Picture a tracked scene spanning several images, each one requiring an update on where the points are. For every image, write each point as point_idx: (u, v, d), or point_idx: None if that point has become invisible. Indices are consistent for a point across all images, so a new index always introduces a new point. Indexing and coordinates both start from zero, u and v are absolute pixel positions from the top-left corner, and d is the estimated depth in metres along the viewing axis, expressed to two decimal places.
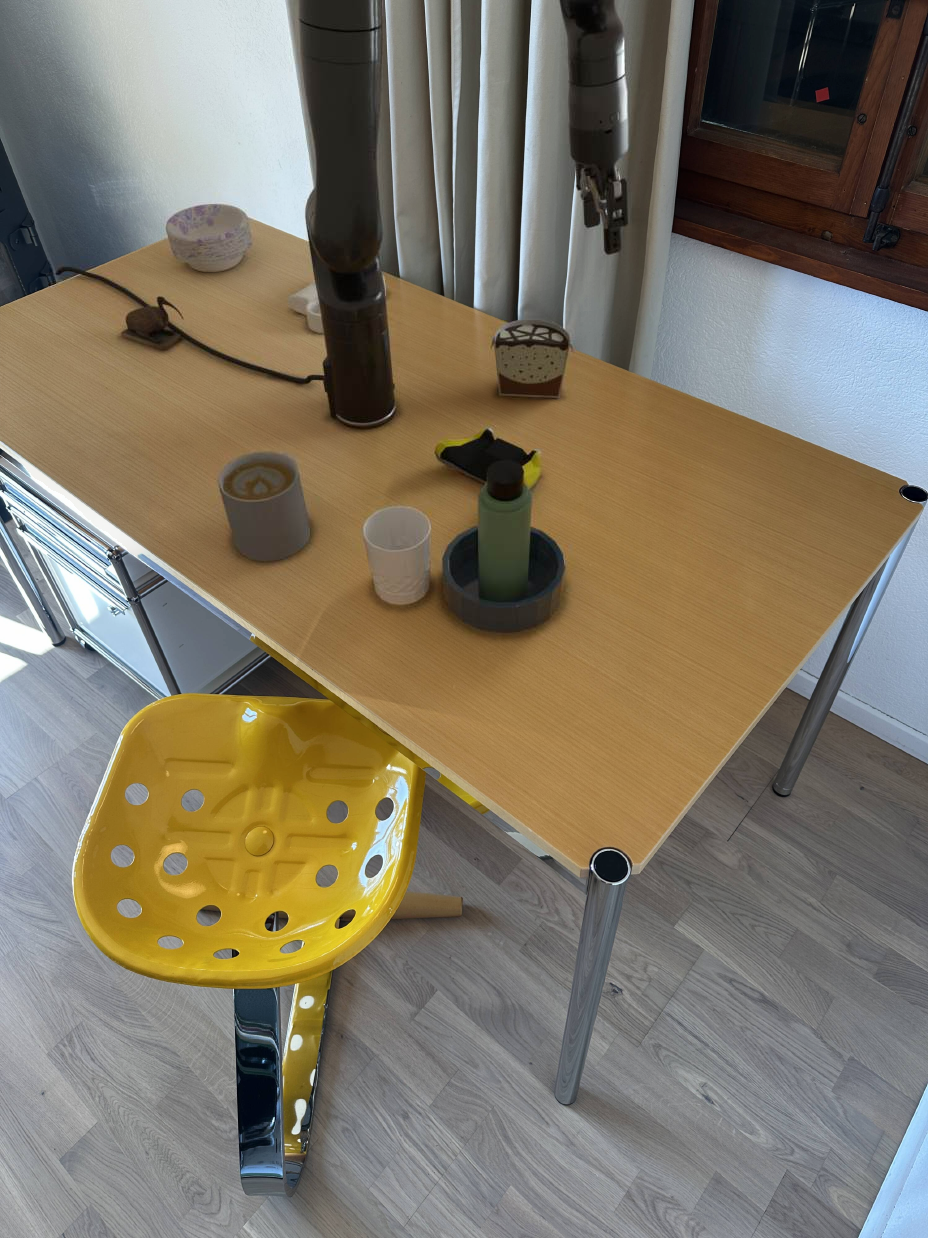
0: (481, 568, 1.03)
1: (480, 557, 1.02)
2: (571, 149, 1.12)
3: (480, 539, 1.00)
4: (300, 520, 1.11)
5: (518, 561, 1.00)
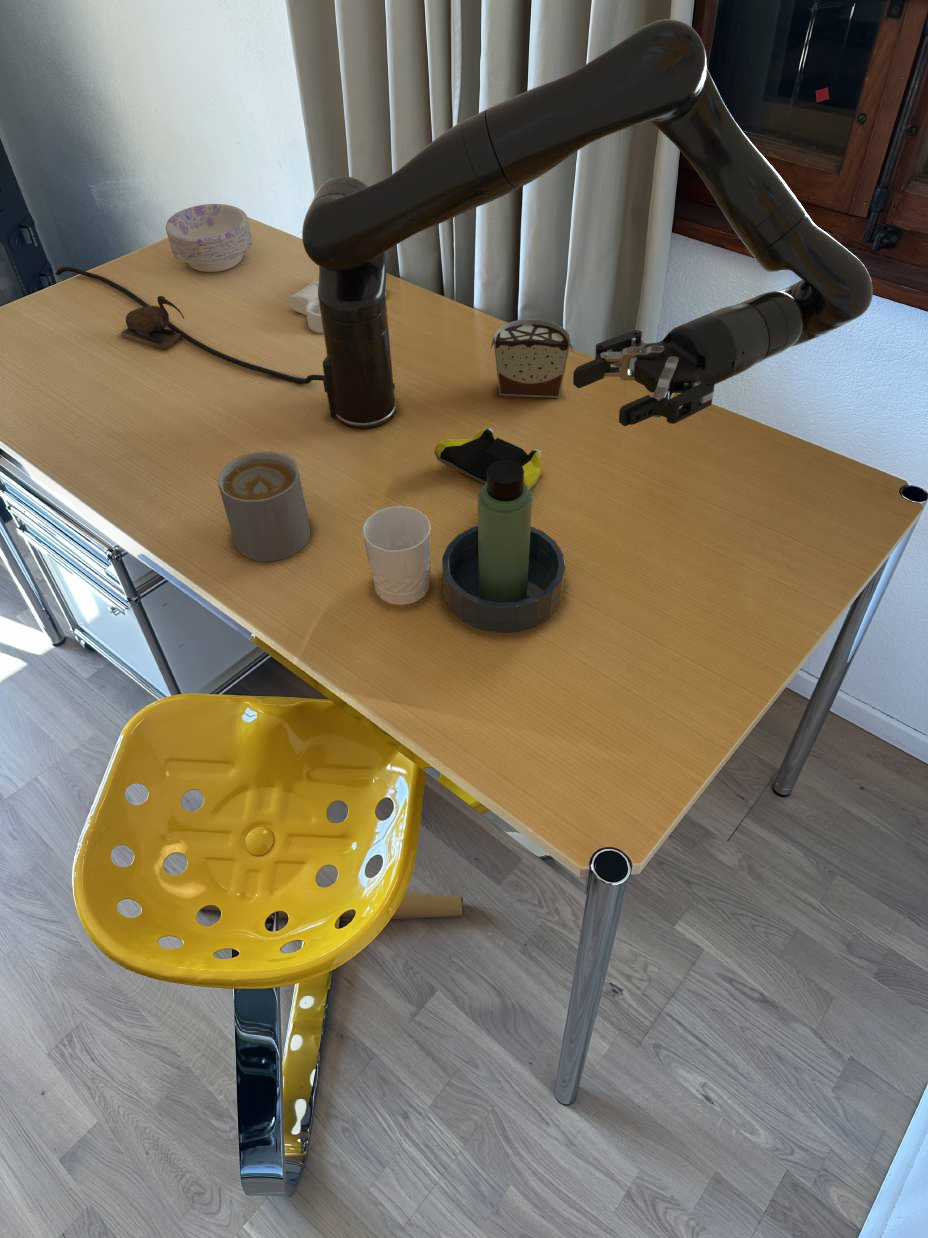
0: (481, 568, 1.03)
1: (480, 557, 1.02)
2: (697, 327, 0.94)
3: (480, 539, 1.00)
4: (300, 520, 1.11)
5: (518, 561, 1.00)
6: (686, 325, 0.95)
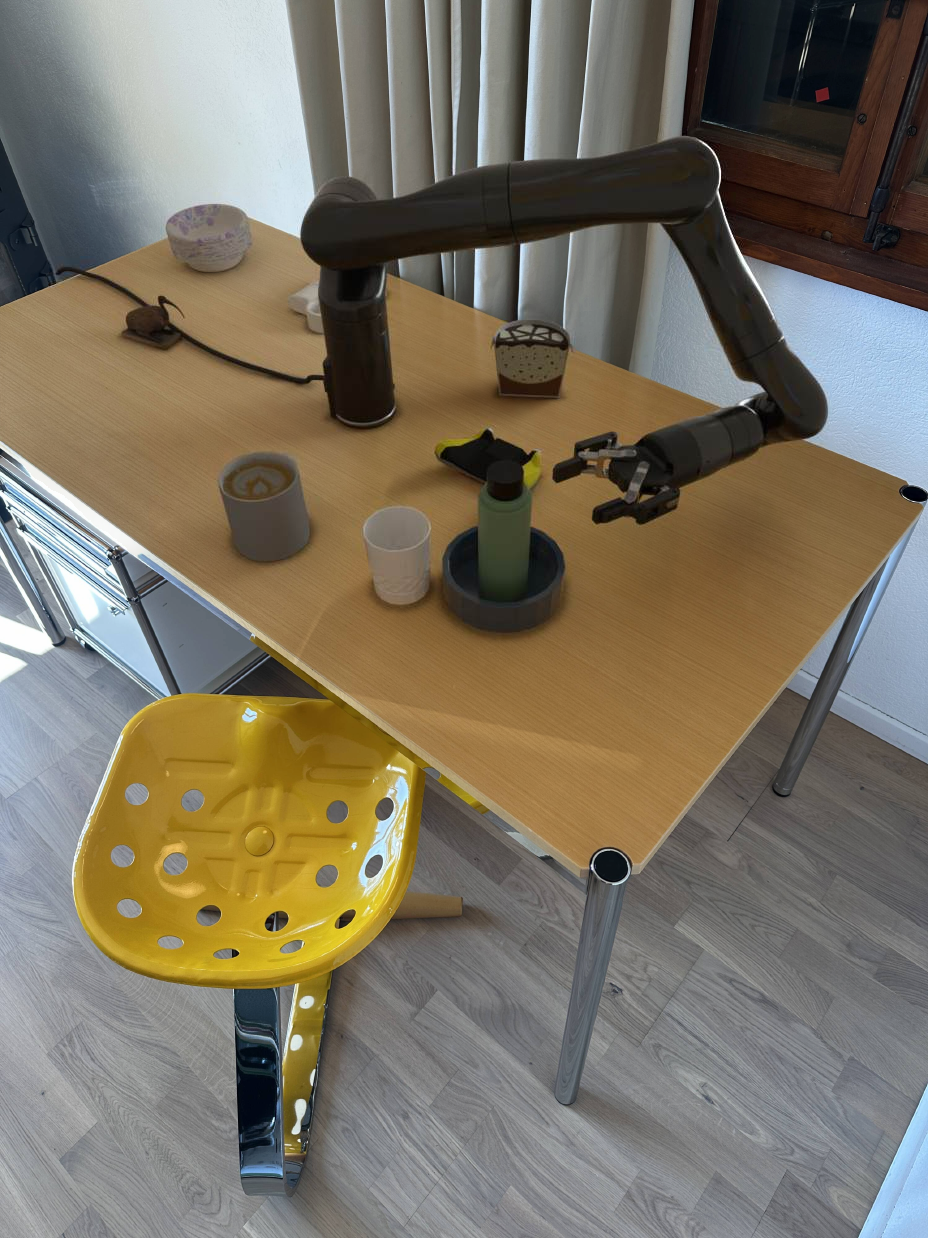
0: (481, 568, 1.03)
1: (480, 557, 1.02)
2: (667, 436, 1.03)
3: (480, 539, 1.00)
4: (300, 520, 1.11)
5: (518, 561, 1.00)
6: (658, 433, 1.04)
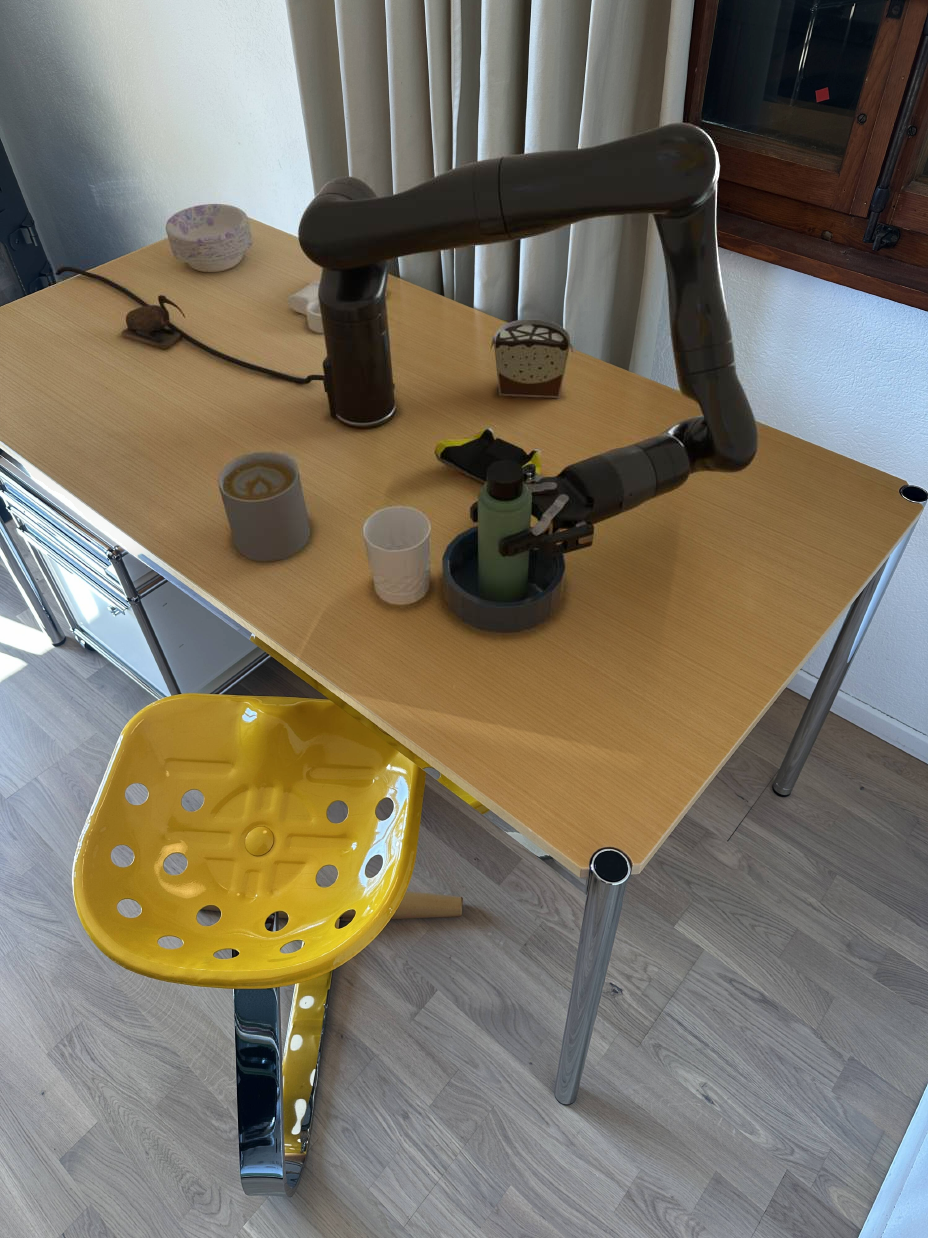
0: (481, 568, 1.03)
1: (480, 557, 1.02)
2: (588, 468, 1.00)
3: (480, 539, 1.00)
4: (300, 520, 1.11)
5: (518, 561, 1.00)
6: (578, 465, 1.01)
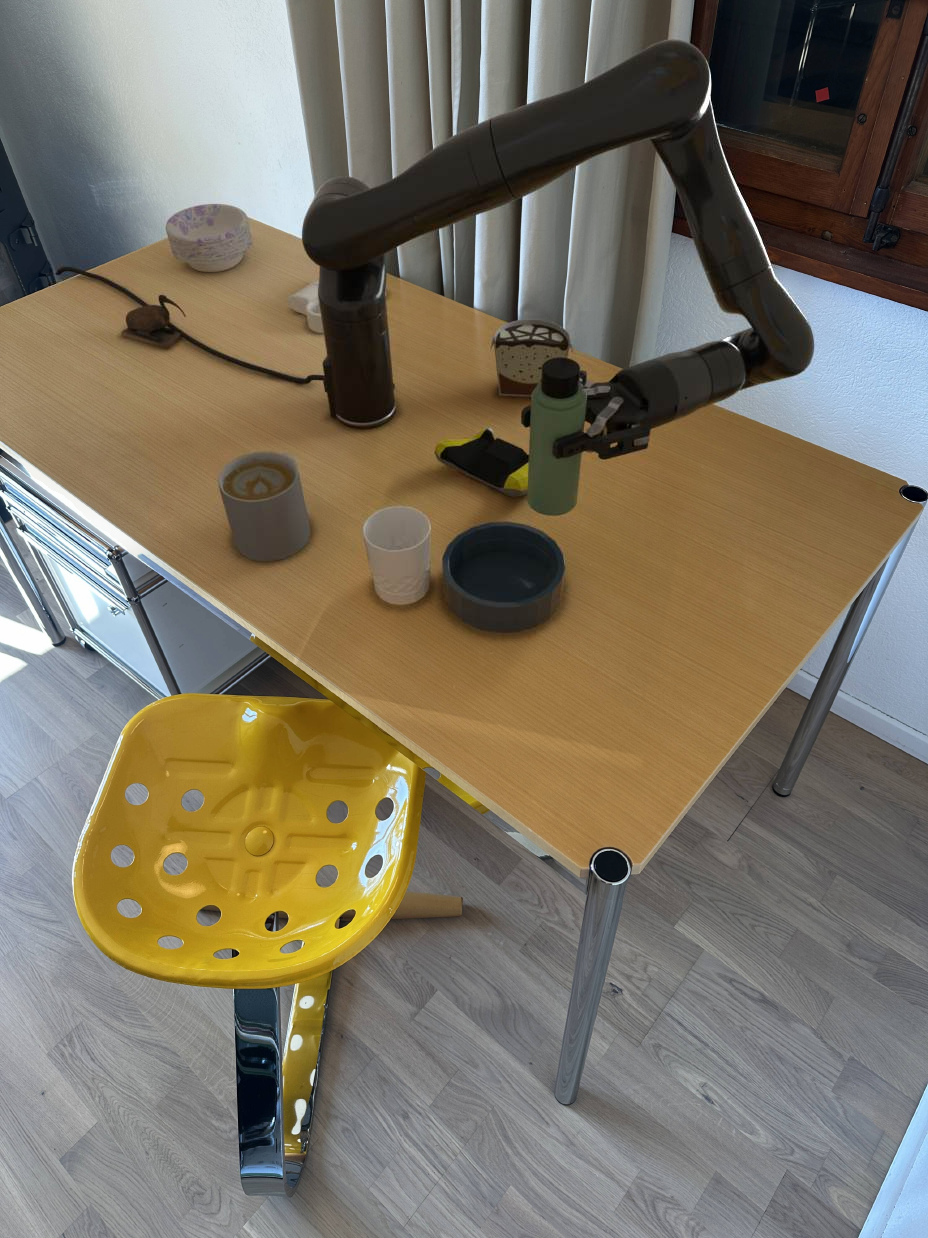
0: (531, 476, 1.00)
1: (531, 463, 0.99)
2: (642, 370, 0.98)
3: (532, 443, 0.97)
4: (300, 520, 1.11)
5: (570, 466, 0.98)
6: (632, 368, 0.98)
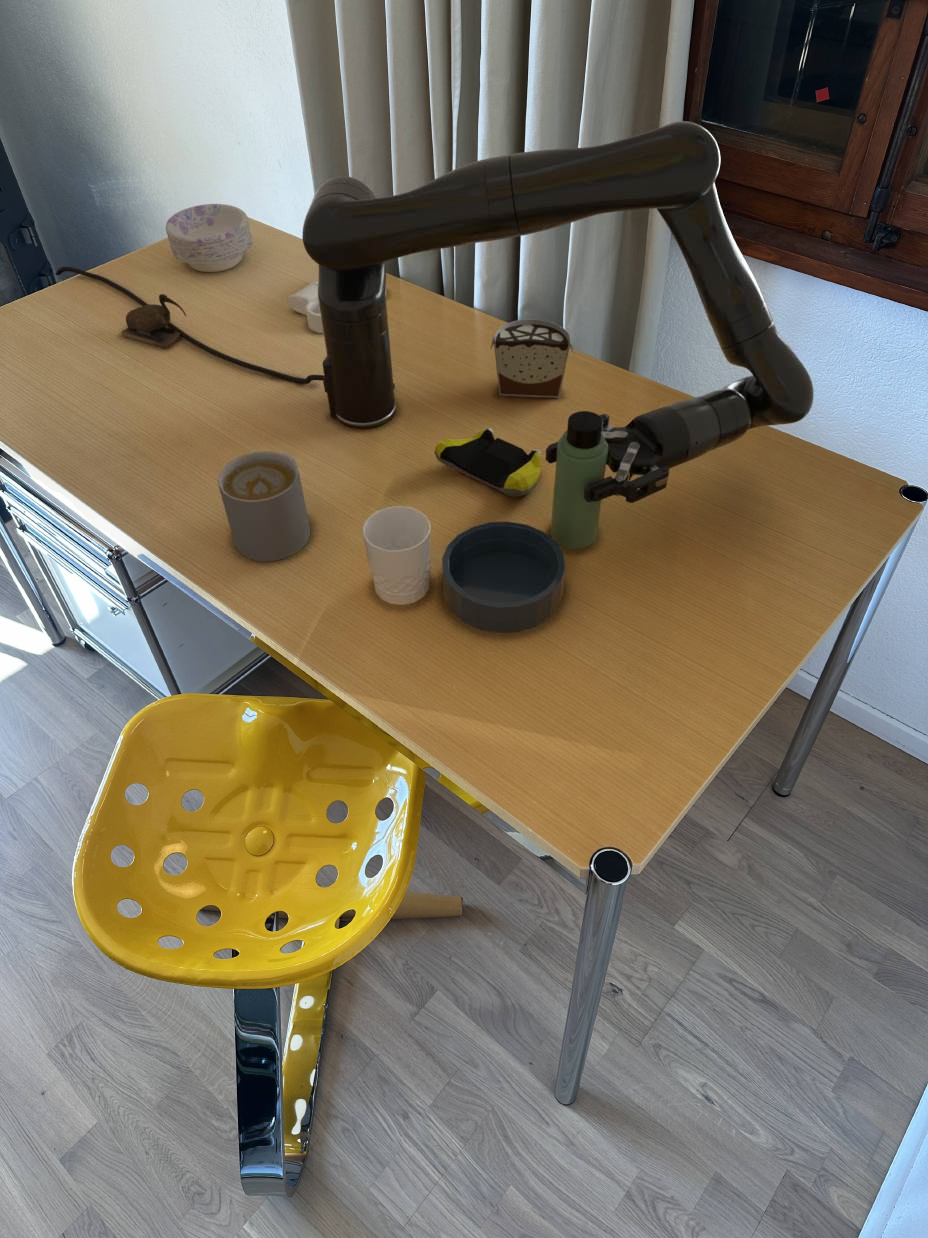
0: (555, 515, 1.10)
1: (556, 504, 1.09)
2: (657, 418, 1.07)
3: (557, 487, 1.07)
4: (300, 520, 1.11)
5: (592, 507, 1.07)
6: (648, 415, 1.07)
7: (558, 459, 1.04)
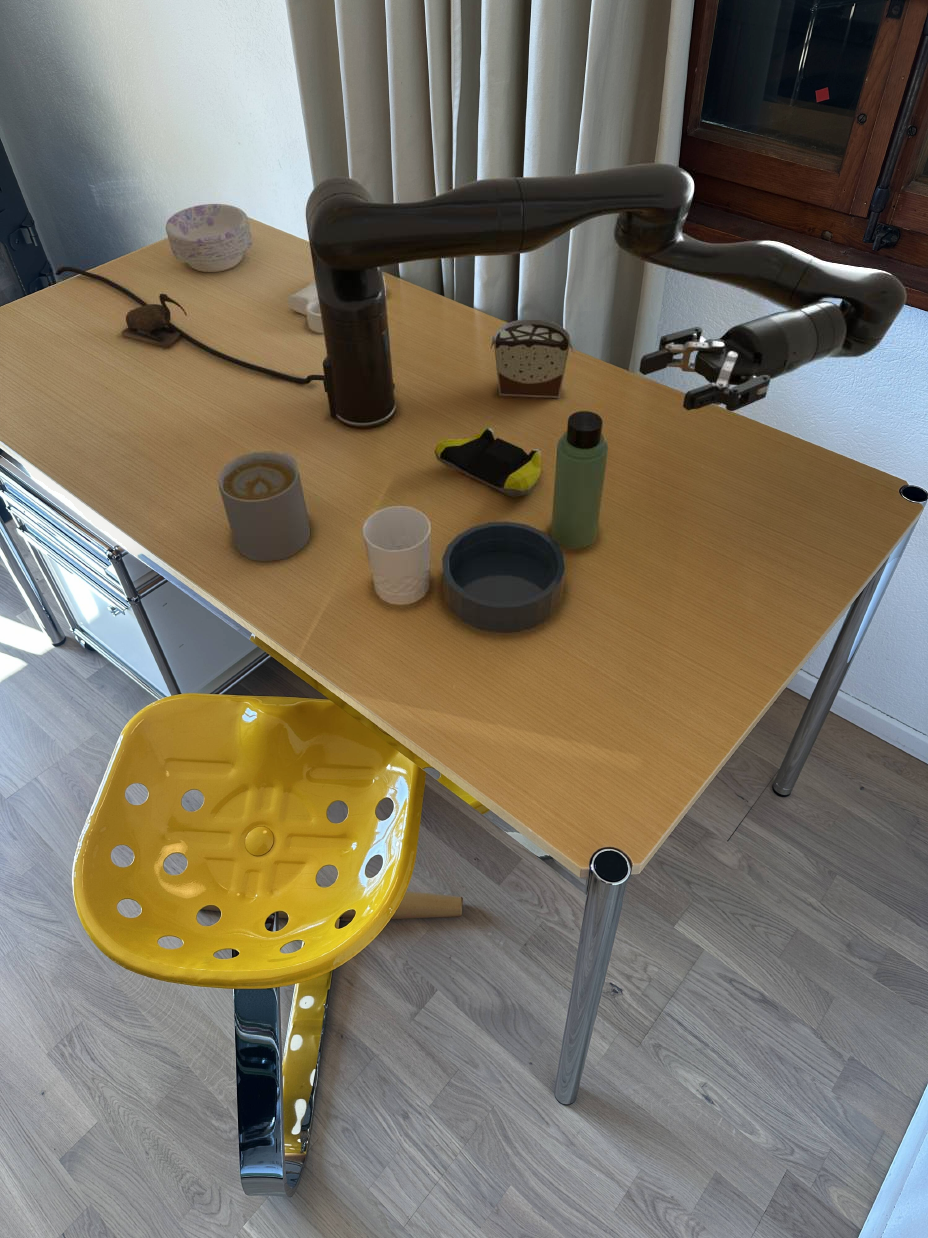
0: (555, 515, 1.10)
1: (556, 504, 1.09)
2: (755, 326, 1.04)
3: (557, 487, 1.07)
4: (300, 520, 1.11)
5: (592, 507, 1.07)
6: (745, 324, 1.05)
7: (558, 459, 1.04)
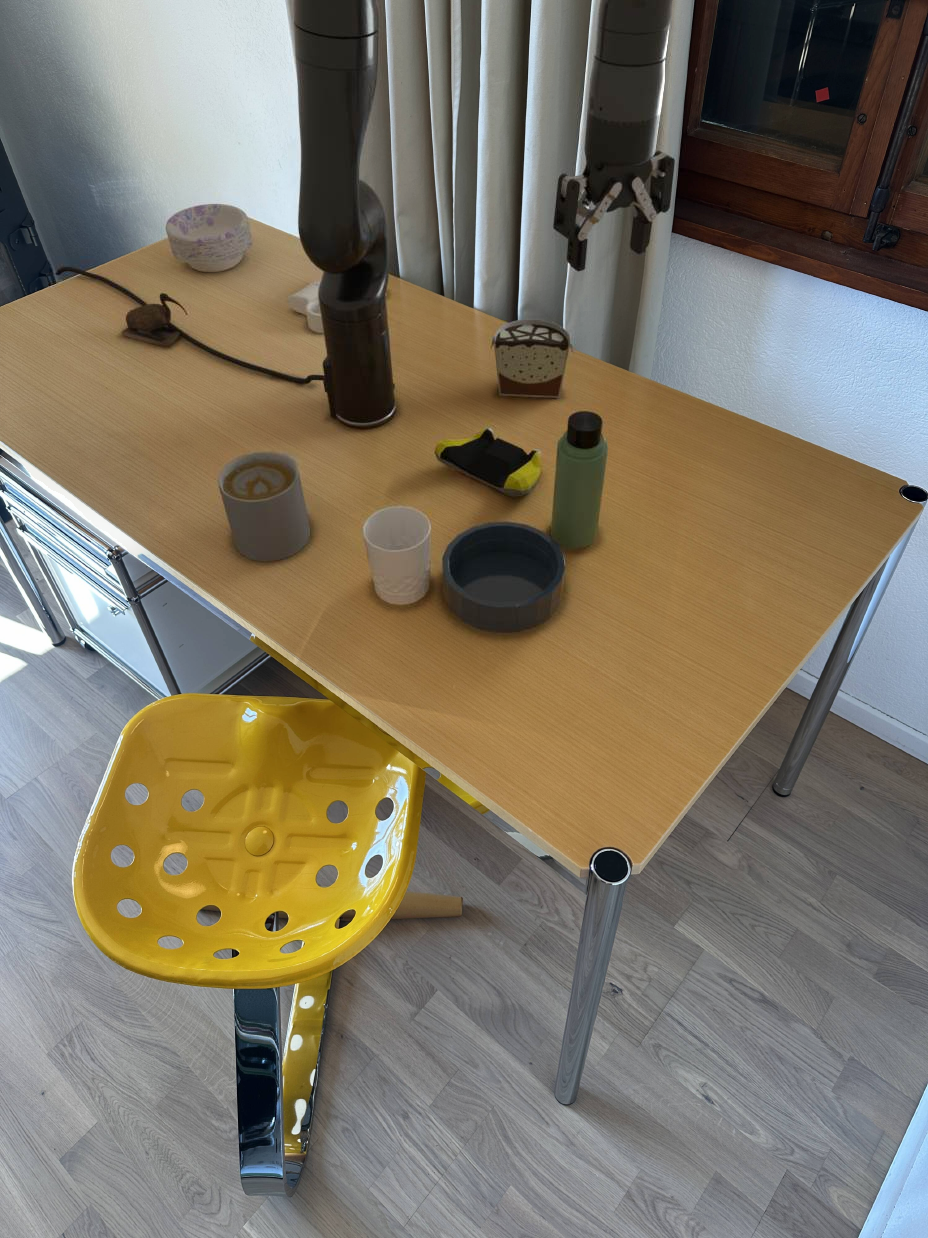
0: (555, 515, 1.10)
1: (556, 504, 1.09)
2: (642, 151, 0.90)
3: (557, 487, 1.07)
4: (300, 520, 1.11)
5: (592, 507, 1.07)
6: (631, 158, 0.90)
7: (558, 459, 1.04)
